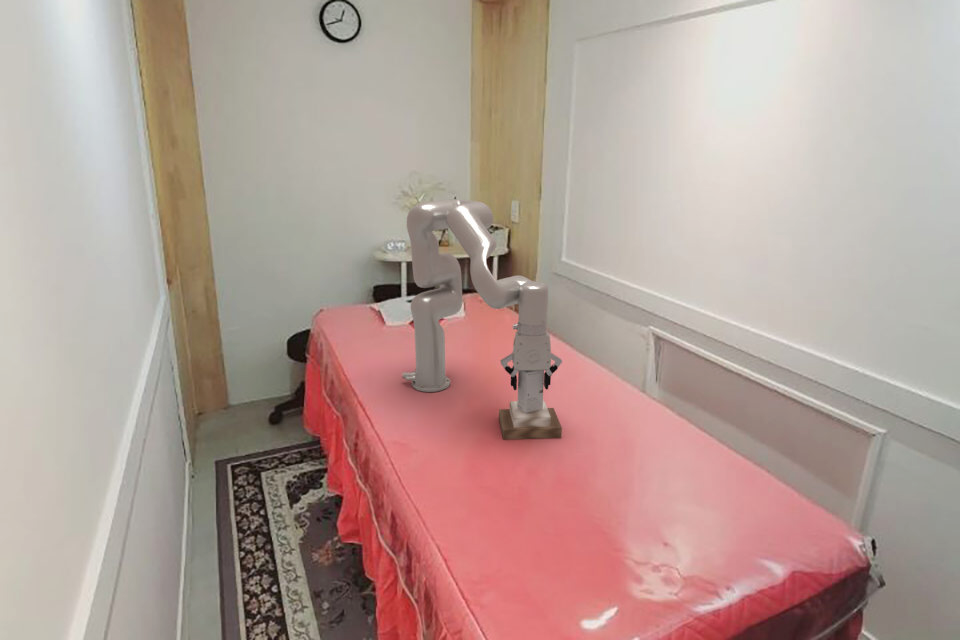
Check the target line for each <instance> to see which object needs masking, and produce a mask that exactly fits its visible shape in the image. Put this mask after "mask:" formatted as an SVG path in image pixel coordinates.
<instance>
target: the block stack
mask: <svg viewBox="0 0 960 640" xmlns="http://www.w3.org/2000/svg"><path fill="white" fill-rule="evenodd" d="M517 403H518V400H512V401H511V400H510V401H509V408H504V409H503V408H501V409H498V420H499V426H500V431H501V435H502V439H503V440H531V439H562V434H563V433H562V432H563V431H562V430H563V428H562V427H563V426H562V425H561V423H560V420H559V418H558V415H557V413H556V411H555V408H554V407H548V406H547V403H546V402H545V400H544V399H543V408H542V409H541V410H537V411H533V412H529V413H524V412H522V411H521V410H520V409H518V408H517Z"/></svg>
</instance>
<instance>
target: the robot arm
mask: <svg viewBox="0 0 960 640" xmlns="http://www.w3.org/2000/svg"><path fill="white" fill-rule="evenodd" d="M493 223H494V214H493V212H492V210H491V208H490V207H489V206H488V205H487V204H486V203H484V202H481V201H478V200H477V201H474V200H467V199H466V200H465V199H455V198H453V199H444V200H431V201H424V202H420V203H417V204H416V205H414V206H413V207H411V208H410V210H409V211H408V213H407V217H406V228H407V233H408V237H409V240H410V247H411V249H410V251H411V263H412V264H411V265H412V274H413V280H414V283H415V285H416V286H417V287H418V288H423V289H427V288H433V287H437V286H439V288H436V289H431V290H427V291H423V292H420V293H418V294H416V295H415V296H414V297H412V298H413V299H411V301H410V312H411V313H410V314H411V316H412V321H413V326H414V327H413V328H414V343H415V345H414V347H415V348H414V349H415V350H414V351H415V370H414V371H412V372H402V379H405V381H406V382H407V381H411V386H412V388H414V389H415V390H417V391H419V392H423V393H435V392H440V391H444V390H446V389H447V388H449V386H450V385H451V379H450V378H449V377H448V376H446V340H445V339H446V337H445V331H444V328H443V327H442V325H441V323H440V320H442V319H443V318H447V317H448V318H449V317H452V316H454V315H457V314H458V313H459V312H460V310H462V309H461V308H462V306H463V283H462V281H463V280H462V270H461V269H462V268H461V264H460V263H459V261H458V259H457V258H456V256H455V255H453V254H450V253H445V252H444V253H440V245H439V243H440V242H439V240H438V238H437V236H436V235H435V233H434V232H433V231H440V230H447V229H448V230H450V231H451V233H452V234H453V235H454V238H456V240H457V241H458V243H459V244H460V246H461V247H462V249H463V250H464V251H465V253H466V255H467V256H468V258H469V259H470V264H469V272H470V279H471V282H472V286H473V287H474V289H475V291H476V292H477V293H478V294H479V296H480V298H481V299H482V301H483V302H484V303H485V304H486V305H487V306H489V307H490V308H491V309H493V310H501V309H504V308H509V307H511V306H514V305H518V321H517V323H515V324H514V323H513V324H512V330H516V332H515V334H514V339H513V346H512V352H511V353H510V354H508V355H507V356H505V357H503V358H502V359H500V360H499V361H500V365H501V366H502V367H503V369H504V370H505V372H506V373H507V374H509V375H510V386H511V387H512V388H513V391H516V390H517V391H518V376H517V374H518V371H535V370H544V385H543V388H544V389H545V390H549V386H551V381H552V380H551V379H552V378H551V377H552V376H553V374H554V373H555V372H556V371H557V370H558V368H559V367H560V366H561V364H562V363H563V360H562V358H561V357H560V356H558V355H555V354H554V353H552V350H551V349H552V345H551V343H552V342H551V337H550V336H551V335H550V333H549V332H548V331H547V328H548V327H547V323H548V308H549V307H548V305H549V303H548V301H549V288H548V286H547V284H546V283H544V282H541V281H533V280H531V279H529V278H527V277H525V276H523V275H512V276H510V277H505V278H500V279H496V278H495V277H494V276H493V274H492V273H491V270H490V269H489V266H488V264H487V259H488V258H490V256H491V255H493V253H494V251H495V250H496V248H497V242H496V240H495V238H494V237H493V236H492V234H491V233H490V232H489V230H488V229H489V228H491V226H492V225H493ZM511 361H512V364H513V365H512V367H511V366H509V364H508V363H509V362H511ZM552 361H554V363H553V364H552Z"/></svg>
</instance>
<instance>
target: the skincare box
mask: <svg viewBox="0 0 960 640" xmlns="http://www.w3.org/2000/svg"><path fill="white" fill-rule="evenodd" d="M544 373H545V370H535V371H518V372H517V374H518V376H517V401H518V403H517V408H518V409H520V410H521V411H522V412H524V413H529V412H533V411H537V410H541V409H542V408H543V400H544Z"/></svg>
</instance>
